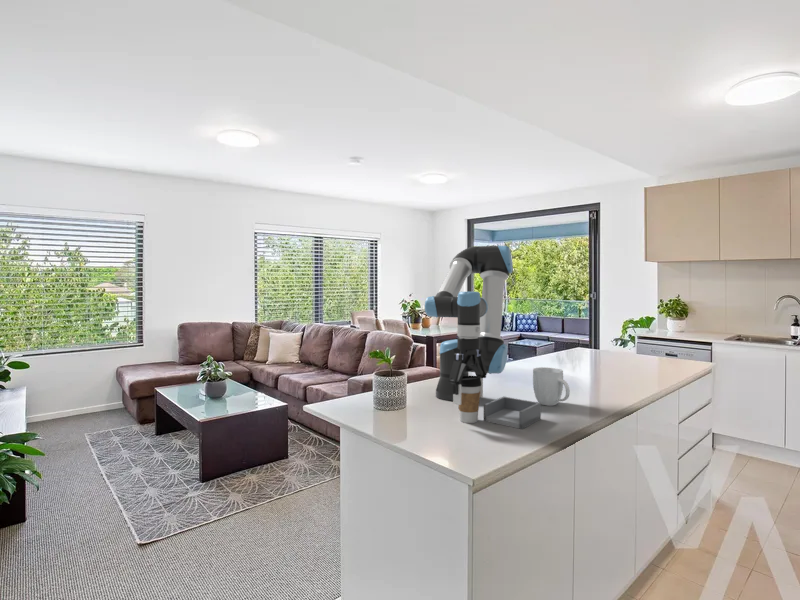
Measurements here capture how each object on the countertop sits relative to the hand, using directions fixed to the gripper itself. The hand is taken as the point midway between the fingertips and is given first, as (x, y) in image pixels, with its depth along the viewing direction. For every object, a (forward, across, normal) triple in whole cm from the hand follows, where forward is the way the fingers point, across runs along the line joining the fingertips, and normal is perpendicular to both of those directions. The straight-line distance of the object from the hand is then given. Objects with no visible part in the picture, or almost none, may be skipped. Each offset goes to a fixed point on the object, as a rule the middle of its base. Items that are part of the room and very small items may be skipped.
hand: (468, 400), depth 155 cm
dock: (+7, +10, -11) cm, 17 cm away
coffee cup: (+7, 0, 0) cm, 7 cm away
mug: (+7, +38, -13) cm, 40 cm away
